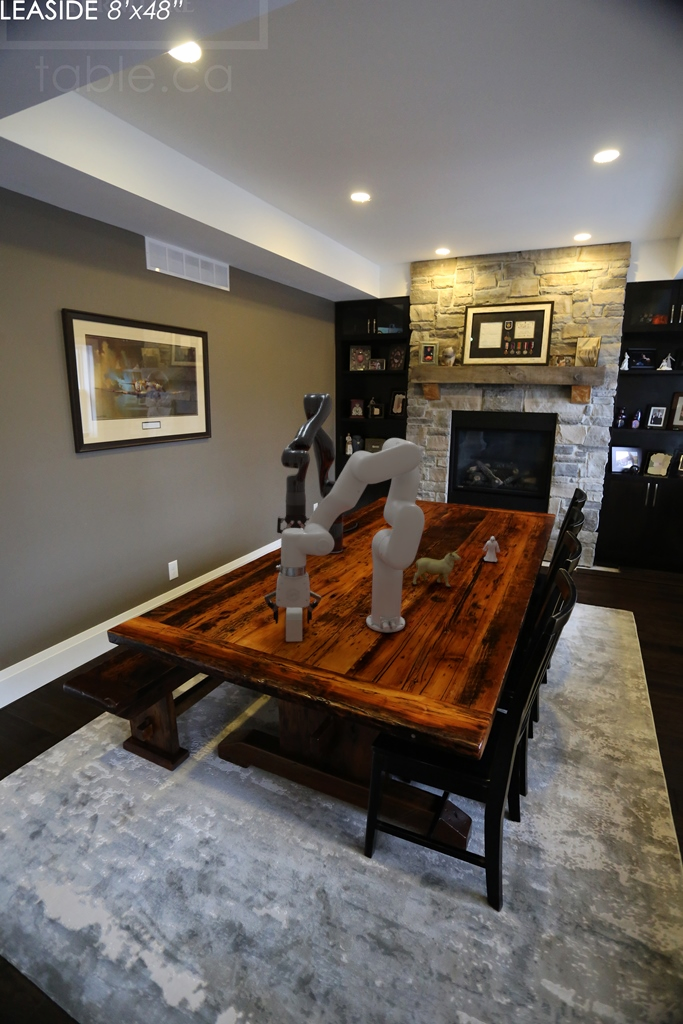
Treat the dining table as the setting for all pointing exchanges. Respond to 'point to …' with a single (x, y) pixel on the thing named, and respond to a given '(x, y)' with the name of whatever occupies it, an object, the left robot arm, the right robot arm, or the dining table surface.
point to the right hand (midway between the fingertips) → (292, 621)
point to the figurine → (491, 550)
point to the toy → (436, 567)
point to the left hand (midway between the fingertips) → (295, 543)
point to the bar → (293, 624)
